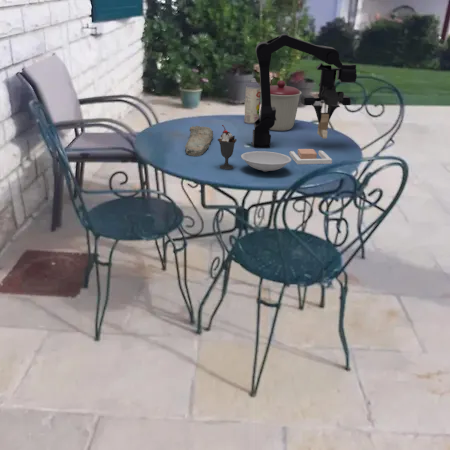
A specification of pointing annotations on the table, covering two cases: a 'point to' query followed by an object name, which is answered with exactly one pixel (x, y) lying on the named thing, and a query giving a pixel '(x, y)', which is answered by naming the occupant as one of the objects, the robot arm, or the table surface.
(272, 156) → the dish
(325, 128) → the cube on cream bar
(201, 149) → the elongated rock
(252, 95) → the aerosol can
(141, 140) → the table surface
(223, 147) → the sundae
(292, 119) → the canister
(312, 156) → the tile
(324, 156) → the corral
